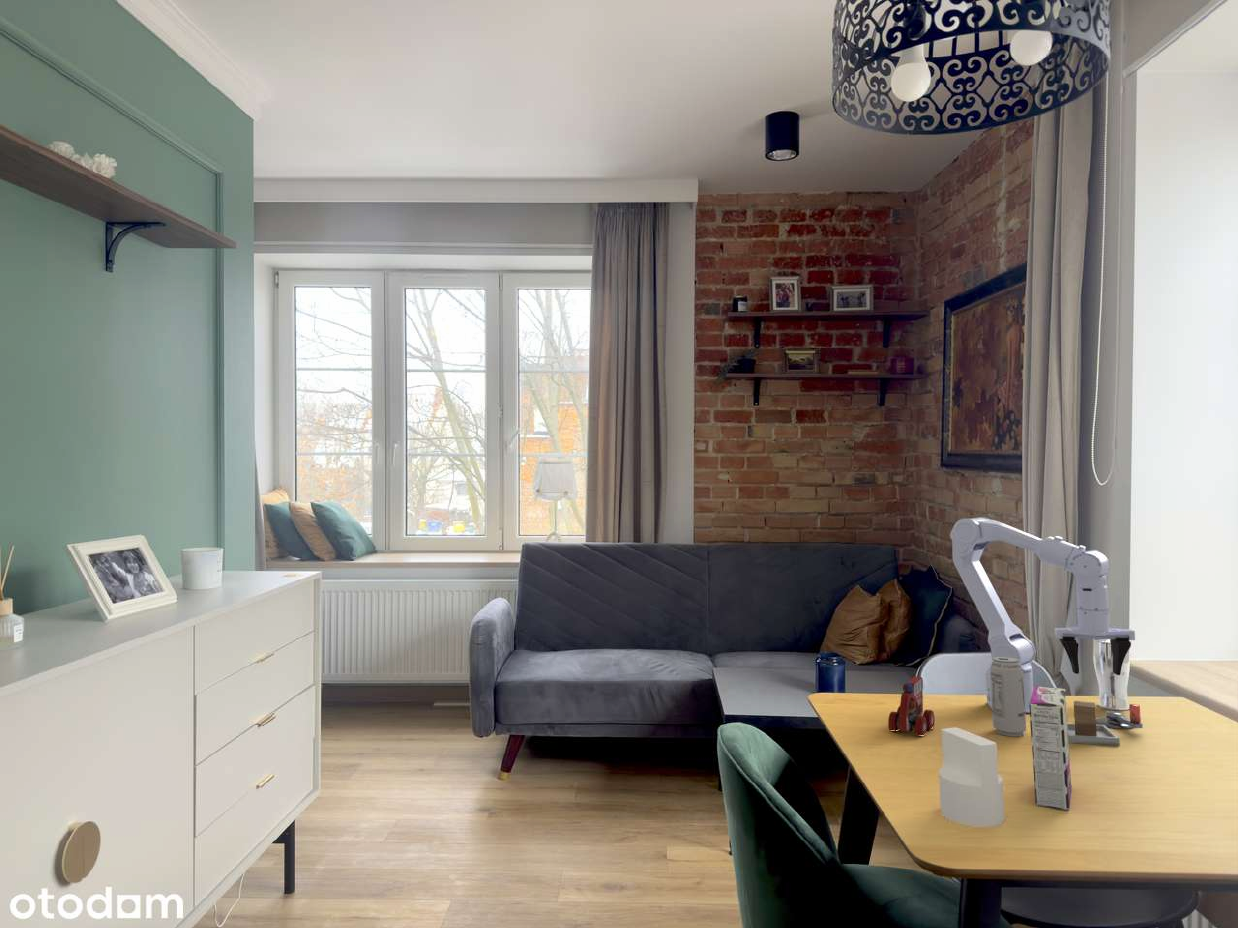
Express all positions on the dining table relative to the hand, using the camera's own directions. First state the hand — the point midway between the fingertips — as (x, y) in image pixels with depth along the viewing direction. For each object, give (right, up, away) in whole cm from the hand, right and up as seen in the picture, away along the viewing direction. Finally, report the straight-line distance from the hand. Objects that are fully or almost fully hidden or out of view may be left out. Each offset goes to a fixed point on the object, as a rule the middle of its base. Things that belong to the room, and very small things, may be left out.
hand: (1096, 673), depth 163 cm
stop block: (-8, -10, -10) cm, 16 cm away
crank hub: (+3, -10, -1) cm, 11 cm away
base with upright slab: (-46, -10, -43) cm, 64 cm away
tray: (-7, -10, -9) cm, 16 cm away
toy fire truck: (-40, -12, -2) cm, 41 cm away
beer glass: (+11, -11, +11) cm, 19 cm away
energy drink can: (-21, -11, -5) cm, 24 cm away
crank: (+3, -9, -4) cm, 10 cm away
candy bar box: (-30, -10, -38) cm, 49 cm away
